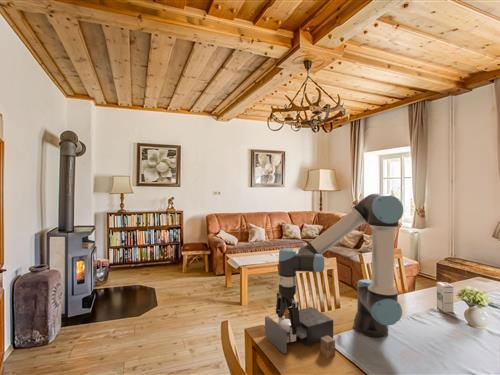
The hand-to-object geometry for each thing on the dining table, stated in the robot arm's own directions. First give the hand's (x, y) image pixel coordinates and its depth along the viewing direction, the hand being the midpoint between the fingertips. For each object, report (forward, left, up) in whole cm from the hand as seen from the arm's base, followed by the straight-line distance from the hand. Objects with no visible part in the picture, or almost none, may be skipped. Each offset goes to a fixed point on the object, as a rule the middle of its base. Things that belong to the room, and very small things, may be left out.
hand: (287, 336), depth 122 cm
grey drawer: (-1, 0, -2) cm, 2 cm away
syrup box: (-96, +13, -3) cm, 96 cm away
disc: (0, 0, +4) cm, 4 cm away
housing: (-13, 0, -2) cm, 13 cm away
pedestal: (-10, +15, -2) cm, 18 cm away
